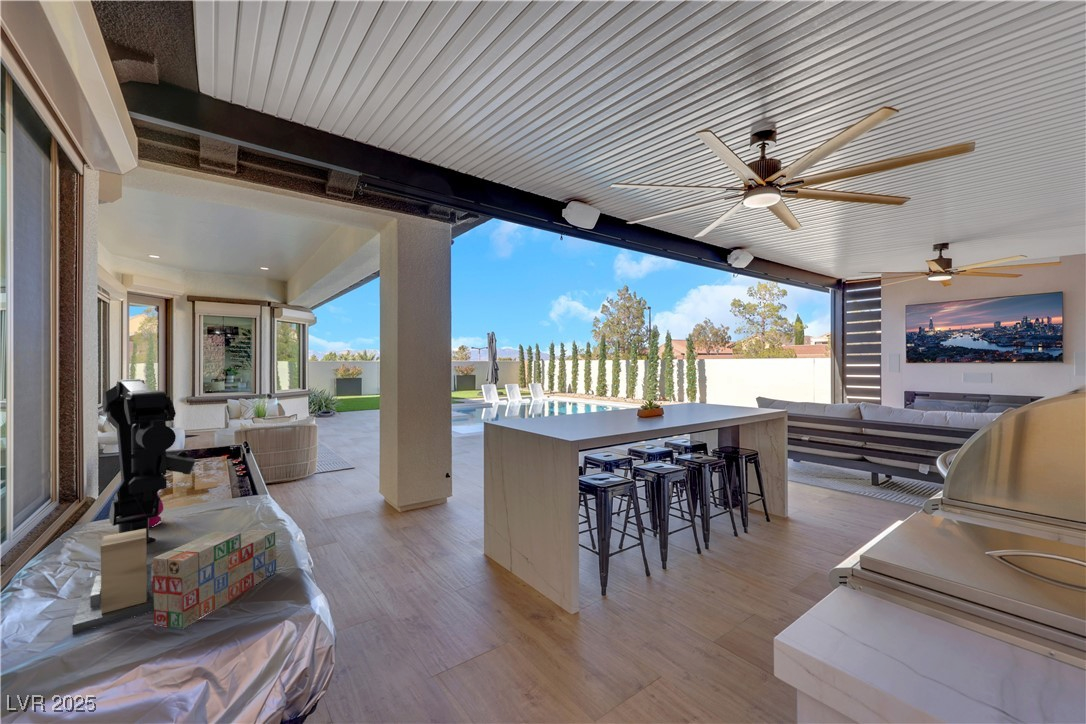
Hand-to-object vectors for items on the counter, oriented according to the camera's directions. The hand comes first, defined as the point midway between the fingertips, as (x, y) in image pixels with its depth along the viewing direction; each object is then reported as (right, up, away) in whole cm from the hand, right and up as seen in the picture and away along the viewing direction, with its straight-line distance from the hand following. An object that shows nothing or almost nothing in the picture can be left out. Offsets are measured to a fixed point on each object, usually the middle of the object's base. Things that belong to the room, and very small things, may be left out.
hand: (149, 514), depth 105 cm
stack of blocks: (+27, -11, -15) cm, 33 cm away
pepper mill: (-20, -11, +23) cm, 33 cm away
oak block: (+13, -10, -20) cm, 26 cm away
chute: (+8, -11, -14) cm, 20 cm away
